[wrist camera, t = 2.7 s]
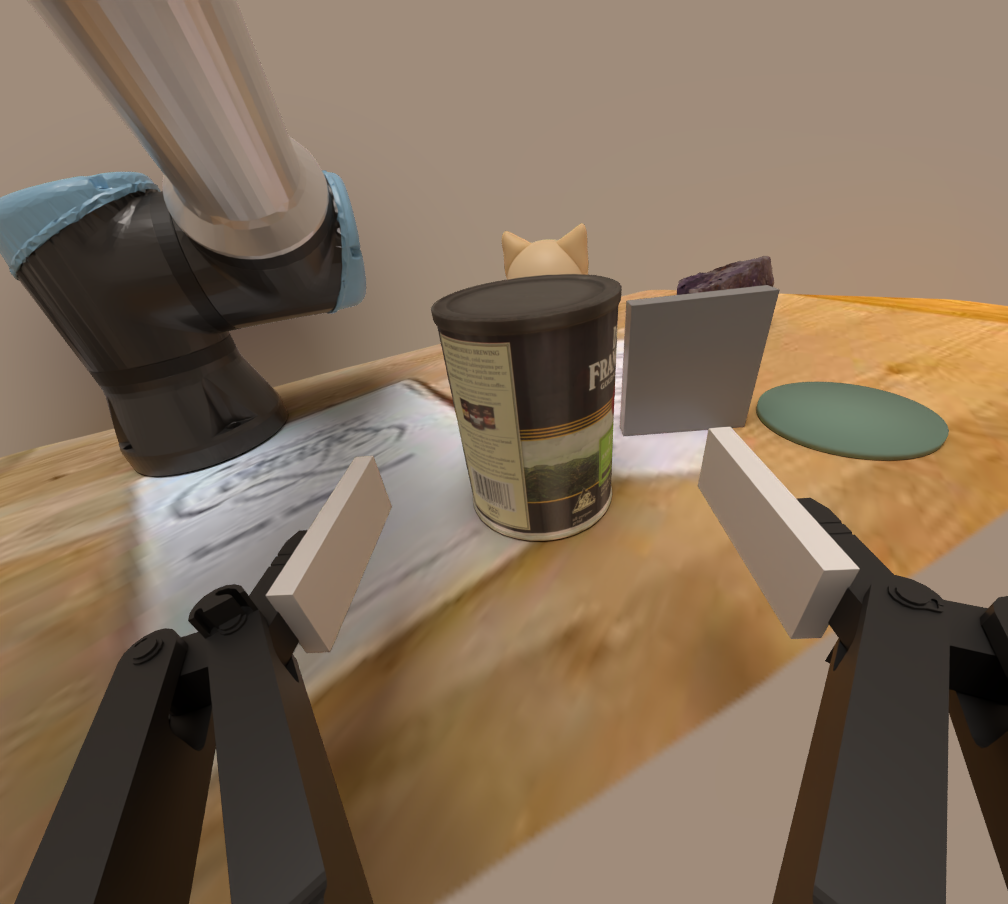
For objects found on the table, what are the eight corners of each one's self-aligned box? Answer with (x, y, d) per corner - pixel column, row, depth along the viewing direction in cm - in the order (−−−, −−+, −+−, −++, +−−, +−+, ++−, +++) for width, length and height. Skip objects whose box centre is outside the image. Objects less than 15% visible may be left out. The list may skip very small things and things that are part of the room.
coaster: (725, 403, 36) (727, 397, 36) (836, 378, 38) (838, 372, 37) (847, 475, 26) (851, 468, 26) (991, 438, 28) (996, 431, 28)
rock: (676, 328, 59) (680, 350, 51) (673, 269, 55) (677, 282, 47) (767, 313, 54) (787, 334, 46) (771, 246, 50) (794, 257, 42)
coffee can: (614, 455, 32) (623, 266, 24) (608, 552, 23) (618, 312, 16) (494, 449, 34) (468, 279, 27) (451, 533, 26) (395, 323, 19)
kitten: (615, 338, 55) (620, 215, 47) (600, 364, 48) (602, 224, 39) (518, 336, 61) (507, 227, 53) (491, 360, 54) (473, 237, 45)
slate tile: (744, 426, 33) (779, 289, 27) (623, 436, 34) (631, 305, 28) (734, 416, 34) (765, 284, 28) (619, 426, 35) (625, 300, 29)
